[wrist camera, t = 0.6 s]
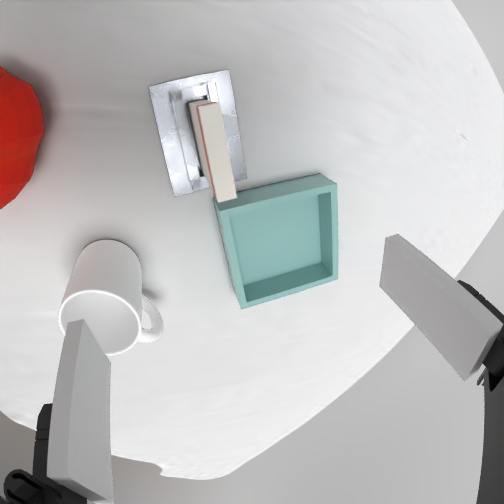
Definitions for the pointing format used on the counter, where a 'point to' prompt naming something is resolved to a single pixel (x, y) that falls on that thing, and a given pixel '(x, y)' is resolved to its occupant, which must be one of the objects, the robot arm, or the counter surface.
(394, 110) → the counter surface
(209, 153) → the cream red-striped panel
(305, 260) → the tray
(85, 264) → the mug
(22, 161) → the tomato
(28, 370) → the counter surface
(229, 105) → the metal rectangular holder
